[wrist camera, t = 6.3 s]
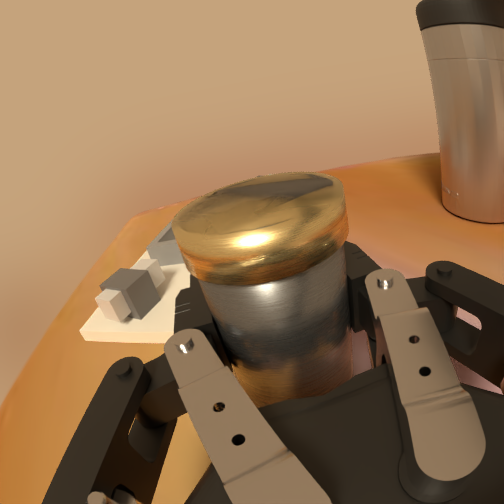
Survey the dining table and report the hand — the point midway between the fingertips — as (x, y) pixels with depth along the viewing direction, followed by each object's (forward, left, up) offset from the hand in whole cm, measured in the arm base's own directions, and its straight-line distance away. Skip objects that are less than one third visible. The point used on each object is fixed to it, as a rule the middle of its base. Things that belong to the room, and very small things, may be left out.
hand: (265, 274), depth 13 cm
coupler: (-1, +3, -6) cm, 7 cm away
